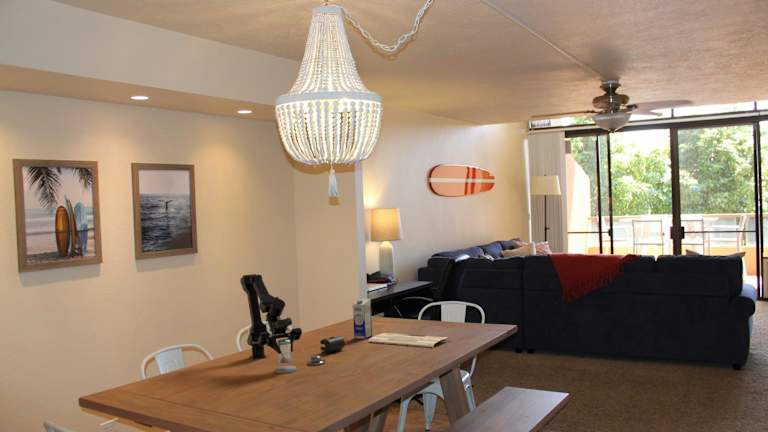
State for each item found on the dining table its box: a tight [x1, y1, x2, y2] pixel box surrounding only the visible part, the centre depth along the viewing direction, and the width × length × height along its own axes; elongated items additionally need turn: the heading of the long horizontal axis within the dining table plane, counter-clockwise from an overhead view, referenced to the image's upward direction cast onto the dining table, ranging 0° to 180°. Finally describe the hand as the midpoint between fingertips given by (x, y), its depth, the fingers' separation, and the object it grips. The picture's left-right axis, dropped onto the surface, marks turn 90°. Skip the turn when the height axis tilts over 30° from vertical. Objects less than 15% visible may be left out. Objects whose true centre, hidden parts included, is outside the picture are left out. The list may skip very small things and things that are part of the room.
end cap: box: [320, 335, 346, 354], centre depth 321 cm, size 10×7×7 cm
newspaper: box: [368, 332, 451, 349], centre depth 335 cm, size 37×19×3 cm, turn 58°
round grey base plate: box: [306, 355, 326, 367], centre depth 299 cm, size 8×8×3 cm
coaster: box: [274, 365, 297, 374], centre depth 288 cm, size 9×9×1 cm
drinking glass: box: [277, 338, 292, 364], centre depth 288 cm, size 5×5×9 cm
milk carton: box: [352, 298, 373, 340], centre depth 351 cm, size 7×7×20 cm
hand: (286, 352), depth 287 cm, fingers closed on drinking glass, 5 cm apart
